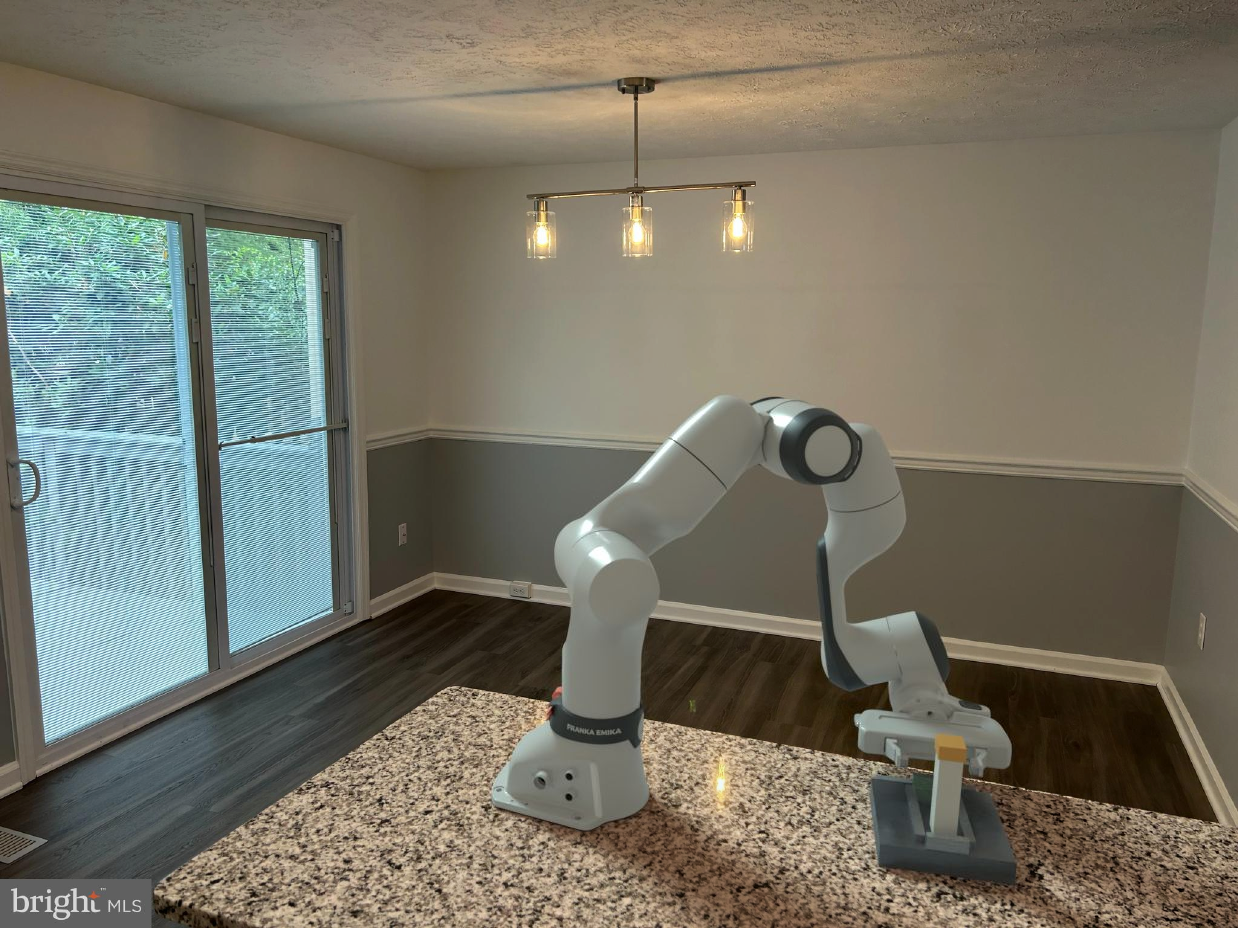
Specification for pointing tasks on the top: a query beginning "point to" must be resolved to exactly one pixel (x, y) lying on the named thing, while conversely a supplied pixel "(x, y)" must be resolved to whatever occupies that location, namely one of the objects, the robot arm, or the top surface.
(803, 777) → the top surface
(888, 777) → the dark grey flat bar
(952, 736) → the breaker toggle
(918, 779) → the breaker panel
